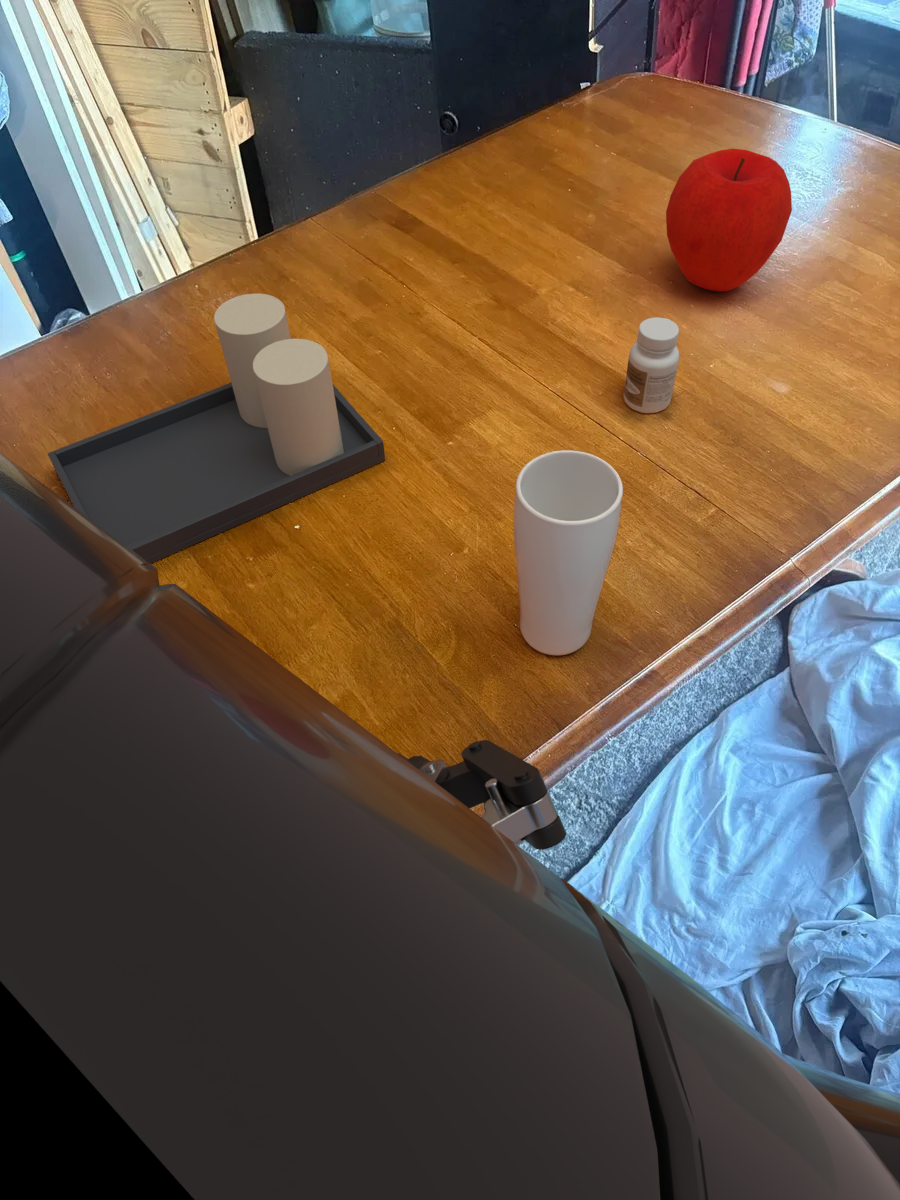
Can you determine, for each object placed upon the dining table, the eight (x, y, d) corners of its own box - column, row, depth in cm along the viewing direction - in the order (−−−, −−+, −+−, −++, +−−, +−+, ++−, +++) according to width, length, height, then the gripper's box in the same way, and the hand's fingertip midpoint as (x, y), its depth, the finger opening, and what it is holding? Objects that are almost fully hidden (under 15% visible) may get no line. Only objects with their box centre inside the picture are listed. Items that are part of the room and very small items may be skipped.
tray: (111, 581, 71) (102, 562, 69) (56, 472, 79) (47, 453, 78) (385, 460, 79) (383, 441, 77) (309, 373, 87) (306, 353, 85)
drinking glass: (514, 591, 69) (519, 444, 57) (602, 598, 68) (625, 451, 57) (505, 662, 65) (509, 520, 53) (598, 671, 64) (623, 529, 53)
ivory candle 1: (255, 437, 80) (230, 342, 73) (229, 401, 84) (202, 308, 76) (315, 412, 82) (297, 318, 74) (287, 379, 86) (267, 285, 78)
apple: (656, 314, 92) (678, 185, 81) (652, 252, 99) (672, 127, 88) (774, 318, 90) (812, 188, 80) (762, 256, 98) (795, 129, 87)
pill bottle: (616, 388, 84) (626, 317, 78) (661, 381, 85) (674, 310, 79) (631, 418, 82) (643, 346, 75) (677, 411, 82) (692, 339, 76)
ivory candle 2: (293, 488, 76) (271, 394, 68) (264, 449, 79) (240, 354, 72) (355, 461, 78) (341, 366, 70) (324, 424, 81) (307, 329, 73)
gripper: (615, 725, 23) (419, 669, 38) (86, 1044, 19) (101, 839, 34) (716, 963, 25) (488, 818, 40) (241, 1315, 20) (189, 1001, 35)
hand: (309, 828), depth 37 cm, fingers open, 8 cm apart
